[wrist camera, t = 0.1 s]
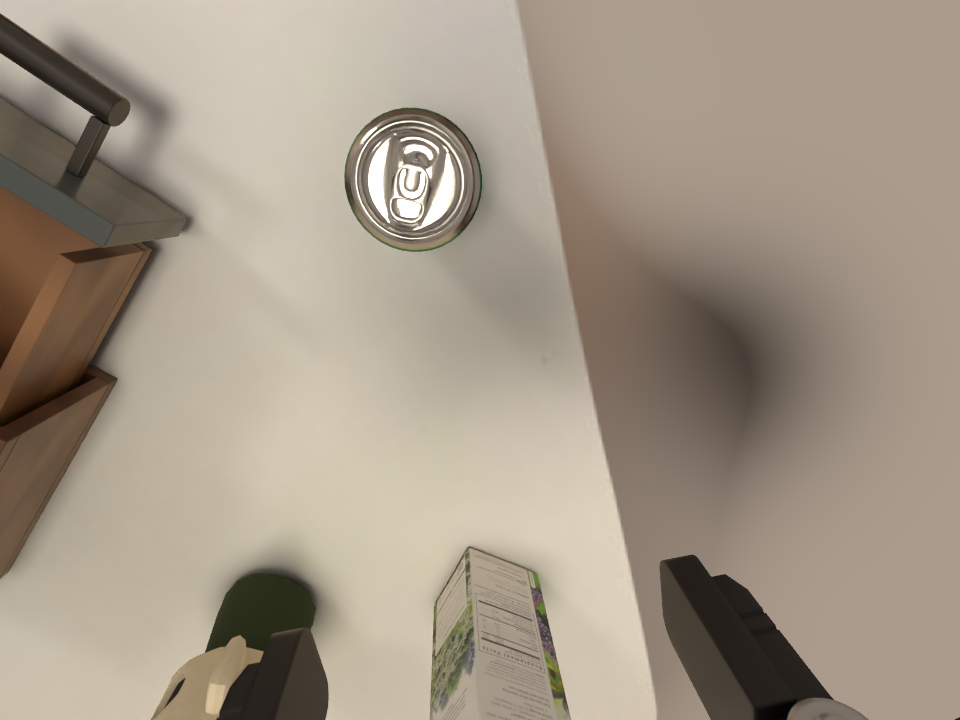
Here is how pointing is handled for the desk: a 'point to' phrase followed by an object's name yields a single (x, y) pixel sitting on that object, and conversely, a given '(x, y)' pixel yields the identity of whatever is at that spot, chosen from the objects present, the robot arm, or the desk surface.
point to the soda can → (413, 179)
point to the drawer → (63, 233)
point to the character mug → (235, 644)
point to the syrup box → (494, 646)
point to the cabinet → (42, 457)
